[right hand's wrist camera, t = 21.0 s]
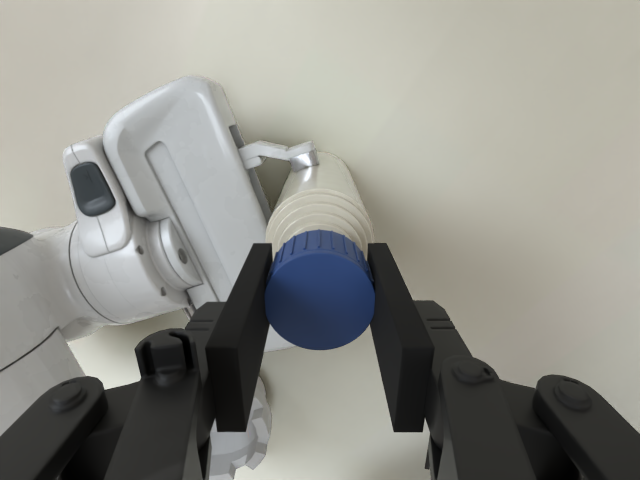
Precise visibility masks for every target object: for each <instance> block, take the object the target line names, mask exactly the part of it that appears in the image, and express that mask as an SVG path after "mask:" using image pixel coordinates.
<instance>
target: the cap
mask: <svg viewBox="0 0 640 480" xmlns="http://www.w3.org/2000/svg"><path fill="white" fill-rule="evenodd" d="M373 283H374V281H373V277H372V274H371V270H370V267H369V264H368V261H366V259H365V256H364V253H363V251H361V250H360V249H359V247H358V246H357V245H356V243H355V242H353V241H351V240H350V239H349V238H347V237H345V235H342V234H339V233H336V232H333V231H332V230H331V231H328V230H320V229H318V230H312V231H305V232H303V233H301V234H298V235H296V236H295V235H294V236H293V237H292V238H291V239H290V240H288V241H287V242H286V243H285V242H284V243H283V246H282V247H281V248H280V249H279V251H278V252H276V254H275V257H274V261H273V262H272V264H271V267H270V271H269V274H268V277H267V281H266V289H265V309H266V316H267V319H268V321H269V323H270V325H271V326H272V327H273V329H274V330H275V331H276V332H277V333H278V334H279V335H280V336H281V337H282V338H283V339H285V340H286V341H288V342H290V343H292V344H294V345H296V346H299V347H302V348H306V349H311V350H328V349H334V348H338V347H341V346H344V345H346V344H348V343H350V342H352V341H353V340H355V339H356V338H357V337H359V336H360V335H361V334H362V333H363V332H364V331H365V330H366V328H367V327H368V326H369V324H370V322H371V320H372V318H373V315H374V306H375V290H374V287H373Z"/></svg>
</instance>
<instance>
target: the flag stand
mask: <svg viewBox="0 0 640 480" xmlns="http://www.w3.org/2000/svg"><path fill="white" fill-rule="evenodd" d="M271 426H272V414H271V410H270V406H269V404H268V402H267V400H266V391H265V387H264V384H263V382H262V380H261V378H260V377H259V376H258V380H257V384H256V389H255V393H254V398H253V402H252V407H251V411H250V416H249V420H248V425H247V429H246V432H217V427H216V421H215V419H214V422H213V426H212V429H211V432H210V438H211V445H212V453H211V464H210V475H209V480H234V475H235V471H236V469H237V468H239V467H242V466H244V465H246V466H248V467H249V468H251V469H252V470H253V469H254V468H256V467H257V466H258V465H259V464H260V463H261V461H262V460H263V458H264V456H265V455H266V449H267V443H268V440H269V437H270V432H271Z"/></svg>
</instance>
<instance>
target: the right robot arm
mask: <svg viewBox="0 0 640 480" xmlns="http://www.w3.org/2000/svg"><path fill="white" fill-rule="evenodd" d="M367 261H368V264H369V267H370V270H371V274H372V277H373V281H374V283H373V287H374V290H375V306H374V315H373V318H372V320H371V322H370V327H371V331H372V336H373V340H374V345H375V349H376V354H377V358H378V363H379V367H380V372H381V376H382V381H383V385H384V390H385V394H386V399H387V403H388V408H389V412H390V417H391V421H392V426H393V430H394V432H423V426H424V419H425V418H426V421H427V424H428V427H429V430H430V438H429V444H428V450H427V457H426V463H425V469H429V468H430V474H431V480H640V434H639V433H638V432H637V431H636V430H635V429H634V428H633V427H632V426H631V425H630V424H629V423H628V422H627V421H626V420H625V419H624V418H623V417H622V416H621V415H620V414H619V413H618V412H617V411H616V410H615V409H614V408H613V407H612V406H611V405H610V404H609V403H608V402H607V401H606V400H605V399H604V398H603V397H602V396H601V395H600V394H598V393H597V392H596V391H595V390H593V389H592V388H591V387H590V386H588V385H586V384H584V383H582V382H580V381H578V380H576V379H572V378H569V377H566V376H561V375H547V376H543V377H542V378H541V379H540V380H539V381H538V382H537V386H536V389H535V388H531V387H527V386H522V385H518V384H513V383H510V382H506V381H503V380H500V379H499V377H498V375H497V374H496V372H495V371H494V369H492V368H491V367H490V366H489V365H488V364H486V363H485V362H483V361H481V360H479V359H477V358H474V357H472V355H471V353H470V352H469V350H468V348H467V346H466V345H465V343H464V341H463V340H462V338H461V336H460V335H459V333H458V331H457V330H456V329H455V326H454V325H453V323H452V321H450V318H449V316H448V315H447V313H446V311H445V310H444V309H443V308H442V307H441V306H440V305H438V304H437V303H436V302H434V301H413V299H412V297H411V295H410V293H409V291H408V289H407V286H406V284H405V282H404V280H403V278H402V276H401V274H400V271H399V269H398V267H397V265H396V263H395V261H394V258H393V256H392V254H391V252H390V250H389V248H388V246H387V243H368V249H367ZM272 262H273V253H272V243H253V245H252V247H251V249H250V252H249V254H248V256H247V258H246V260H245V262H244V264H243V267H242V269H241V271H240V273H239V275H238V277H237V280H236V282H235V284H234V286H233V288H232V290H231V292H230V295H229V297H228V299H227V301H226V302H206V303H205V304H203V305H202V306H201V307H199V308H198V309H197V310H196V311H195V312H194V314H193V316H192V317H191V319H190V322H188V324H187V326H186V327H185V330H184V329H166V330H162V331H158V332H156V333H154V334H151V335H149V336H147V337H146V338H145V339H143V340H142V341H140V342H139V344H138V345H137V346H136V348H135V353H136V357H137V362H138V366H139V370H140V374H141V380H140V381H138V382H135V383H132V384H128V385H124V386H120V387H115V388H111V389H107V390H104V387H103V383H102V382H101V381H100V380H99V379H98V378H95V377H90V376H84V377H76V378H73V379H69V380H66V381H63V382H61V383H59V384H57V385H56V386H54V387H52V388H50V389H49V390H48V391H46V392H45V393H44V394H43V395H41V396H40V397H39V398H38V399H37V400H36V401H35V402H34V403H33V404H32V405H31V406H30V407H29V408H28V409H27V410H26V411H25V412H24V413H23V414H22V415H21V416H20V417H19V418H18V419H17V420H16V421H15V422H14V423H13V424H12V425H11V426H10V427H9V428H8V429H7V430H6V431H5V432H4V433H3V434H2V435H1V436H0V480H209V475H210V464H211V453H212V445H211V438H210V432H211V429H212V426H213V422H214V419H215V421H216V427H217V432H246V429H247V425H248V420H249V416H250V411H251V407H252V402H253V398H254V393H255V389H256V384H257V380H258V375H259V371H260V366H261V362H262V358H263V353H264V349H265V344H266V340H267V335H268V331H269V326H270V323H269V321H268V319H267V316H266V309H265V289H266V281H267V277H268V274H269V271H270V267H271V264H272Z"/></svg>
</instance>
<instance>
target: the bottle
mask: <svg viewBox="0 0 640 480" xmlns="http://www.w3.org/2000/svg"><path fill="white" fill-rule="evenodd" d="M317 155H318V158H319V164H317V165H315V166H312V167H307V166H306V167H305V168H304V169H302V170H300V171H297V172H294V171H293V169H292V168H291V170H290V172H289V175H288V177H287V180H286V182H285V184H284V187H283V189H282V191H281V194H280V196H279V198H278V201H277V203H276V206H275V208H274V210H273V213H272V215H271V217H270V220H269V223H268V225H267V229H266V237H265V242H266V243H272V253H273V261H274V257H275V254H276V252H278V251H279V249H280V248H281V247H282V246H283V243H284V242H285V243H286V242H287V241H288V240H290V239H291V238H292V237H293V236H294V235H295V236H296V235H298V234H301V233H303V232H305V231H312V230H318V229H320V230H328V231H331V230H332V231H333V232H336V233H339V234H342V235H345V237H347V238H349V239H350V240H351V241H353V242H355V243H356V245H357V246H358V247H359V249H360V250H361V251H363V253H364V256H365V259H366V261H367V249H368V243H374V231H373V227H372V223H371V221H370V218H369V216H368V214H367V211H366V209H365V207H364V204H363V202H362V199H361V197H360V195H359V192H358V190H357V188H356V185H355V183H354V180H353V178H352V176H351V173H350V171H349V169H348V167H347V166H346V164H345V163H344V162H343V161H342V160H341V159H340V158H338V157H337V156H335V155H333V154H331V153H327V152H317Z"/></svg>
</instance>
